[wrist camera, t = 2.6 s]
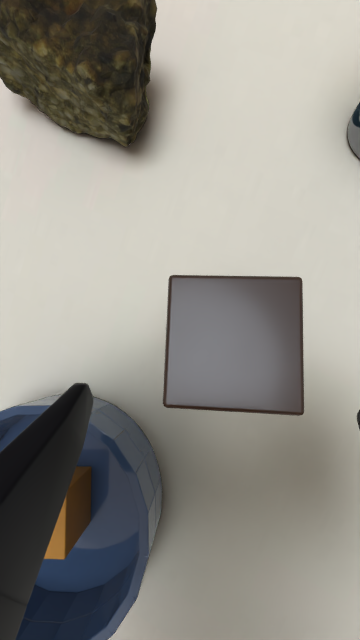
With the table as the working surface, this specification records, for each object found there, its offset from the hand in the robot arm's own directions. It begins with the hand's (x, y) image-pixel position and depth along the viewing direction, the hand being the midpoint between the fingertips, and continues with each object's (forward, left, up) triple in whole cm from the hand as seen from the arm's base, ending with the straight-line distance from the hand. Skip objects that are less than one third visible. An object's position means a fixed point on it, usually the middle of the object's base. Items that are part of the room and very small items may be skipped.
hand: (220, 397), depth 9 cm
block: (-7, +10, -9) cm, 16 cm away
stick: (+2, 0, -10) cm, 10 cm away
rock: (+22, +9, -10) cm, 25 cm away
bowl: (-7, +10, -10) cm, 16 cm away
